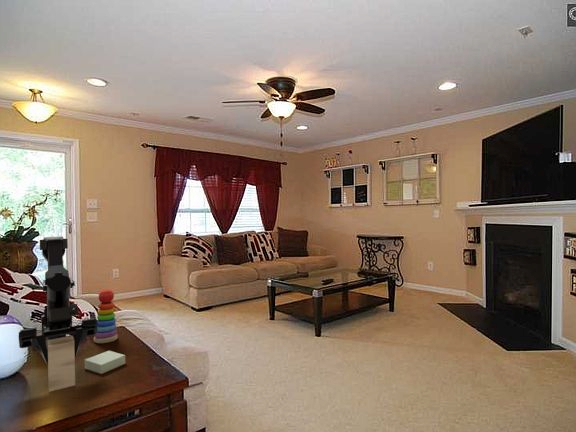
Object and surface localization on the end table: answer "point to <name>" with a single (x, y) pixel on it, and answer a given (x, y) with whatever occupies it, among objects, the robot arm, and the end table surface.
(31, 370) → the end table surface
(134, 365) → the end table surface
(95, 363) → the sage block
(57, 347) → the birch pillar
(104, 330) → the stacking toy
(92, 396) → the end table surface
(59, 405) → the end table surface
